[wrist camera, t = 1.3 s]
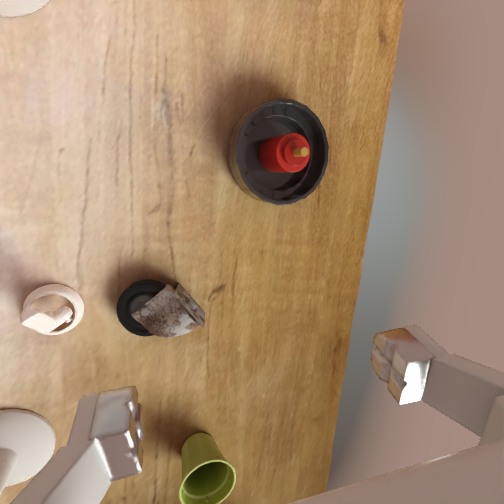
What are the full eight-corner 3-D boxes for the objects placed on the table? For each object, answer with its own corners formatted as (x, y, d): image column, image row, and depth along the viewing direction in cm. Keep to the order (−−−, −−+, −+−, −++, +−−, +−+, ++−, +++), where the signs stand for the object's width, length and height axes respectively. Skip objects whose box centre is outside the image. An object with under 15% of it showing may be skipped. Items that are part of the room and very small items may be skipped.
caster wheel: (113, 298, 53) (162, 258, 53) (161, 348, 55) (208, 310, 55) (99, 312, 47) (155, 267, 46) (154, 368, 49) (207, 325, 49)
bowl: (213, 120, 50) (222, 116, 46) (299, 93, 54) (315, 86, 49) (243, 215, 55) (254, 219, 51) (320, 184, 59) (337, 185, 54)
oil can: (253, 143, 52) (281, 137, 43) (283, 133, 54) (317, 125, 44) (263, 176, 54) (292, 178, 45) (292, 166, 55) (326, 165, 46)
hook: (32, 253, 41) (68, 293, 40) (69, 281, 52) (98, 313, 51) (-27, 294, 38) (8, 338, 37) (25, 315, 49) (53, 349, 48)
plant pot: (164, 439, 59) (170, 481, 51) (213, 415, 62) (227, 450, 54) (181, 476, 62) (189, 521, 54) (227, 451, 65) (242, 490, 57)
